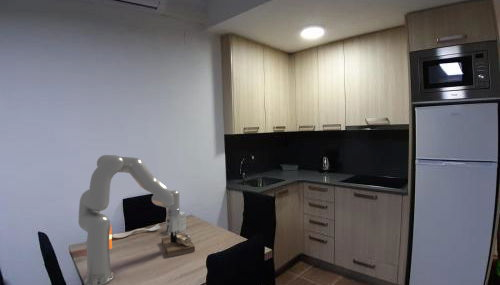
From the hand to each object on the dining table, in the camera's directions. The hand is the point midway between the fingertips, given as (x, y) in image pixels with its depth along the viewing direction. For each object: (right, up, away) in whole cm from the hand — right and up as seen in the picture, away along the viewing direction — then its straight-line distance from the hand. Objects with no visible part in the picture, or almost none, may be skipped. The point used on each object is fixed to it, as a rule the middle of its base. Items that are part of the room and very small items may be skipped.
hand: (173, 241), depth 160 cm
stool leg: (+5, -1, +1) cm, 5 cm away
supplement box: (-5, -4, +32) cm, 33 cm away
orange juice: (-44, -5, +3) cm, 45 cm away
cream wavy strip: (-33, -5, +26) cm, 42 cm away
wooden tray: (+1, -4, +4) cm, 6 cm away
